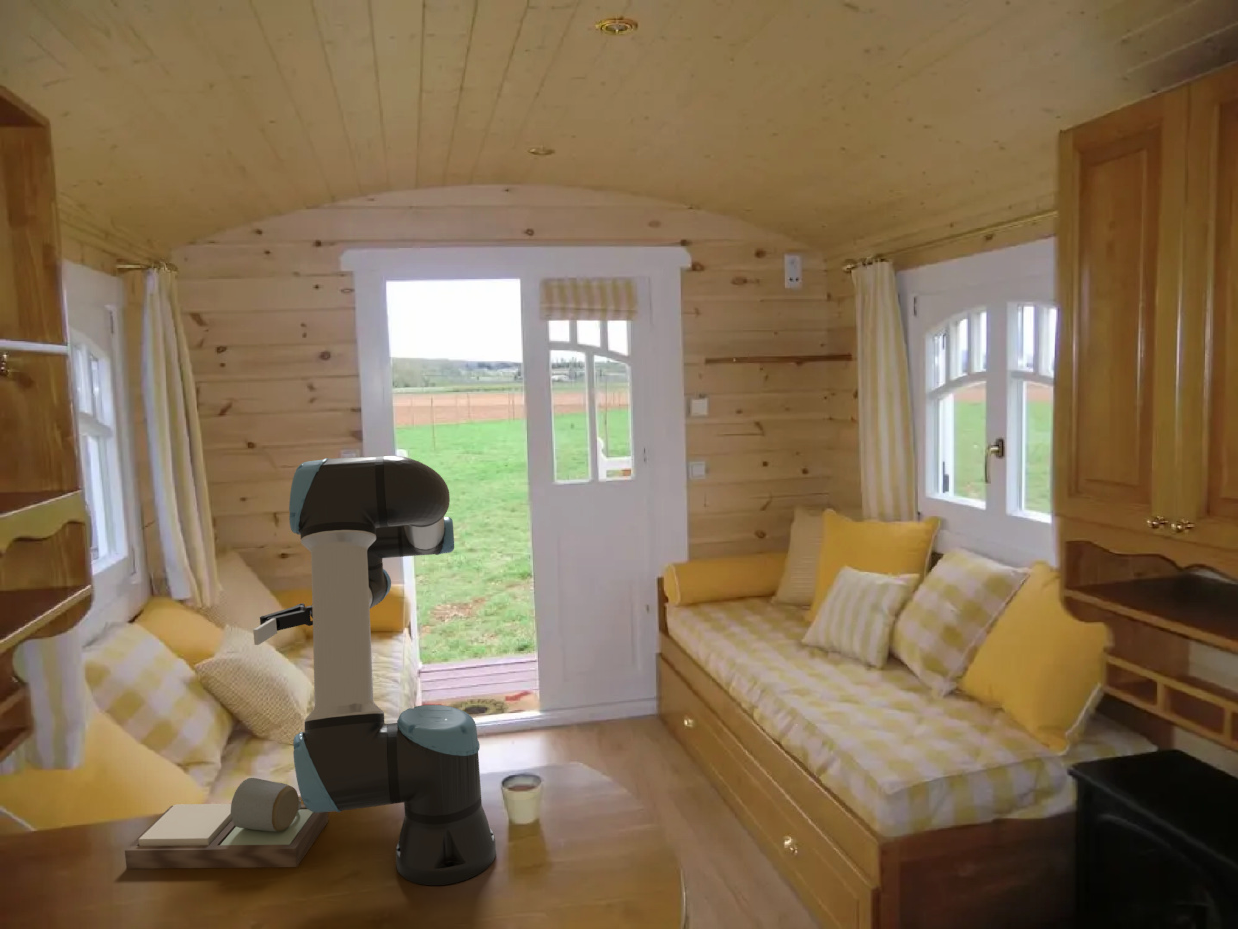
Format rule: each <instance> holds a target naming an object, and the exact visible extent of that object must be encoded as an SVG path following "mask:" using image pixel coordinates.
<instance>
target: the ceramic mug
mask: <svg viewBox="0 0 1238 929" xmlns="http://www.w3.org/2000/svg"><path fill="white" fill-rule="evenodd" d="M230 804H231V819H232V822H233V823H234V825H235V826H237V827H239V828H246V829H254V830H264V831H271V832H277V831H283V830H285V829H286V828H288V827H289V826H290V825H291V823H292V822H293V820H294V818H295V816H296V814H297V811H299V810H300V807H301V804H302V800H301V799H300V798H299V794H298V791H297V790H296V788H295V787H293V786H291V785H290V784H287V783H284V782H276V781H271V780H267V779H262V778H256V777H248V778H246V779H244V780H243V781H242V782H241V783H240V784H239V786H237V788H236V789H235V791H234V794H233V797H232V800H231V803H230Z"/></svg>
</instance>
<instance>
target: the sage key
mask: <svg viewBox="0 0 1238 929" xmlns="http://www.w3.org/2000/svg"><path fill="white" fill-rule="evenodd" d="M313 813H314V812H312V811H310V810H309V809H300V810H299V811H297V814H296V816H295V818H294V820H293V822H292V823H291V825H290V826H289V827H288V828H286V829H285V830H283V831H277V832H271V831H264V830H254V829H246V828H239V827H237V826H236V827H235V828H234V830H233V831H232V832H231V833H230V834H229V835H228V836H227V838H226V839H225V840H224V841H223V842H222V843H221V844H220V845H291V843H292V842H293V840H294V839H295V838H296V836H297V835H298V834H299V832H300V831H301V829H302V828H303V827H304V825H305V824H306V823H307V821H308V820H309V819H310V817H311V816H312V814H313Z"/></svg>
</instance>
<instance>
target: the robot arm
mask: <svg viewBox="0 0 1238 929" xmlns="http://www.w3.org/2000/svg"><path fill="white" fill-rule="evenodd" d="M449 490H450V489H449V488H448V485H447V482H446V480H444V479H443V477H442V475H440V474H439V472H437V471H436V470H434V469H433V468H432V467H430V466H429V465H427V464H425V463H423V462H421V461H419V460H415V459H413V458H409V457H406V456H401V455H393V454H392V455H384V456H382V455H381V456H362V457H361V456H360V457H359V456H358V457H357V456H356V457H341V458H340V457H338V458H335V457H334V458H328V457H326V458H324V459H318V460H317V459H315V460H309V461H304V462H302V463H300V464H299V465H298V466H297V468H296V469H295V471H294V474H293V477H292V482H291V486H290V493H289V503H288V504H289V505H288V507H289V508H288V511H289V516H288V517H289V527H290V531H291V532H292V533H293V534H296V535H300V544H301V546H303V547H304V548H305V549H306V550H308V551H309V552H310V555H311V556H310V557H311V561H310V563H311V596H312V599H311V600H312V604H311V605H307V606H306V604H305V603H303V602H302V603H299V604H297V605H294V606H290V607H289V608H285V609H281V610H279V611H275V612H272V613H268V614H265V615H262V616H259V620H260V621H259V626H257V627H255V628H254V629H252V630H253V631H252V632H253V642H254V643H253V645H254V646H259V645H261V644H263V643H264V642H266V641H267V640H269V639H270V638H273V637H274V636H275V635H276V634H278V631H282V630H287V629H291V628H295V627H300V626H303V625H306V626H309V627H311V626H312V642H313V643H312V644H313V648H312V649H313V684H314V685H313V690H314V693H313V694H314V706H313V707H314V708H313V709H312V711H310V713H309V714H308V715H307V716H306V718H305V719H304V731H300V732H299V733H297V734H296V735H295V736H294V737H293V743H292V744H293V746H292V747H293V762H294V769H295V770H294V772H295V775H296V782H297V787H298V791H299V794H300V798H301V799H302V800H301V801H302V804H304V805H305V806H306V808H307V809H309V810H310V811H312V812H315V813H320V812H328V813H329V812H330V813H331V812H336V813H341V812H343V811H348V810H349V811H350V810H356V809H363V808H372V807H380V806H381V807H382V806H387V805H395V804H396V805H397V804H403V807H404V808H403V809H404V818H403V822H402V826H401V829H400V834H399V838H398V842H397V845H396V848H395V862H396V863H395V864H396V871H397V872H398V873H399V875H400V876H401V877H402V878H404V879H405V880H406V881H409V882H412V883H415V884H419V885H425V886H445V885H453V884H456V883H460V882H464V881H466V880H470V879H471V878H473V877H477V876H478V875H479V874H481V873H482V872H484V871H485V870H487V869H488V868H489V867H490V866H491V865H492V864H493V862H494V860H495V858H496V855H497V849H496V838H495V833H494V832H493V830H492V828H491V827H490V825H489V821H488V818H487V814H486V813H485V810H484V808H483V802H482V786H481V776H480V774H481V773H480V761H479V760H480V759H479V751H480V745H481V744H480V742H479V739H478V730H477V724H476V721H475V719H474V718H473V716H471V715H470V714H469V713H467V712H466V711H464V710H462V709H459V708H457V707H453V706H450V705H443V704H424V705H422V704H421V705H417V706H414V707H413V708H412V707H411V708H410V707H409V708H406V709H404V710H403V711H402V712H400V714H399V715H398V718H397V720H396V722H391V723H385V711H384V710H383V709H382V708H380V707H379V706H378V705H377V704H376V702H375V701H374V687H373V686H374V683H373V662H372V659H373V658H372V657H373V656H372V641H371V640H372V637H371V636H372V633H371V615H370V614H371V612H370V609H372V608H373V607H375V606H376V605H378V604H379V603H381V602H382V601H383V600H385V598H386V596H387V595H388V594H389V593H390V591H391V588H392V580H391V576H390V575H389V572H387V570H386V569H384V564H383V563H384V562H383V559H390V558H401V557H402V558H403V557H415V556H416V557H417V556H429V555H435V556H439V555H441V554H449V553H452V552H453V551H454V549H455V533H454V521H453V519H452V517H450V516H445V515H446V514H447V512H448V511H449V506H450V497H451V496H450V491H449ZM311 618H312V620H311Z"/></svg>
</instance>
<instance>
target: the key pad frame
mask: <svg viewBox="0 0 1238 929" xmlns="http://www.w3.org/2000/svg"><path fill="white" fill-rule="evenodd" d="M173 806H174V805H170V806H169V808H167V809H166V810H165V811H164V812H163V813H162V814H161V815H160V816H159V817H158V818H157V819H156V820H155V821H153V823H151V825H150V826H148V828H146V830H145V831H143V832H142V833H141V834H139V836H138V837H137V838H136V839H135V840H134V841H133V842H132V843H131V844H130V845H129V846H128V847H127V848H125V850H124V856H125V858H124V859H125V864H126V869H128V870H129V869H212V868H214V869H215V868H216V869H217V868H218V869H220V868H221V869H222V868H231V869H233V868H236V869H237V868H298V866H299V865H300V863H301V861H302V860H303V858H304V857H305V856H306V854H307V853H308V851H309V850H310V848H311V847H312V846H313V844H314V843H315V841H316V840H317V838H318V837H319V835H320V834H321V832H322V831H323V829H324V828H325V827H326V825H327V824H328V822H329V820H330V819H329V812H320V813H315V812H314V813H313V814H312V816H311V817H310V819H309V820H308V821H307V823H306V824H305V825H304V827H303V828H302V829H301V831H300V832H299V834H298V835H297V836H296V838H295V839H294V840H293V842H292V843H291V845H220V844H221V843H222V842H223V841H224V840H225V839H226V838H227V836H228V835H229V834H230V833H231V832H232V831H233V830H234V828H235V827H236V826H235V825H234V823H233V822H232V821H231V822H230V823H229V824H228V825H227V826H226V827H225V828H224V830H223V831H222V832H221V833H220V834H219V835H218V836H217V837H216V839H215V840H214V841H213V842H212V843H211V844H210V845H199V846H139V838H140V837H141V836H143V835H144V834H145V833H146V832H147V831H148V830H149V829H150V828H151V827H152V826H153V825H154V824H155V823H156V822H157V821H158V820H159V819H160V818H161V817H162V816H163V815H164V814H165V813H167V812H168V811H169V810H170V809H171V808H172V807H173ZM300 809H307V808H306V806H305V805H304V803H301V807H300Z"/></svg>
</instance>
